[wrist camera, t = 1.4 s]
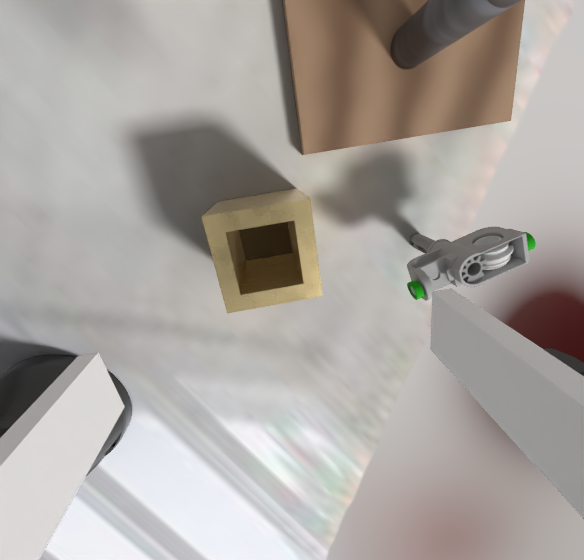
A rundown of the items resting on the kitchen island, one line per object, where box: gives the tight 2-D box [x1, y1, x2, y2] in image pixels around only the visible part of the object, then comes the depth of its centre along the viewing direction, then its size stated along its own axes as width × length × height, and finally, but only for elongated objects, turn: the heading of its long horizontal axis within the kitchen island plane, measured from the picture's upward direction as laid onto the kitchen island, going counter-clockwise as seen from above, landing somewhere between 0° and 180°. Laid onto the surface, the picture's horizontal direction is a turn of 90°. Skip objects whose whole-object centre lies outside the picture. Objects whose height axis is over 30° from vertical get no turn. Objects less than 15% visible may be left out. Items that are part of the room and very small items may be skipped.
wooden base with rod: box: [282, 0, 525, 155], centre depth 20 cm, size 20×14×14 cm
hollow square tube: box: [202, 188, 322, 313], centre depth 27 cm, size 8×8×9 cm
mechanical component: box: [407, 227, 535, 300], centre depth 29 cm, size 3×10×10 cm, turn 114°
